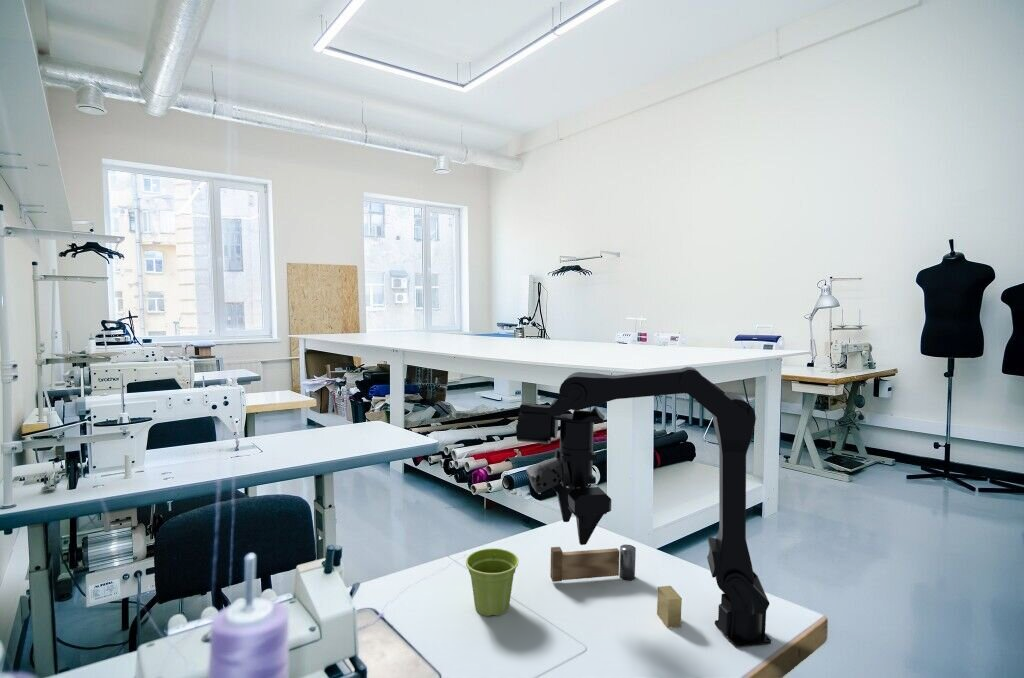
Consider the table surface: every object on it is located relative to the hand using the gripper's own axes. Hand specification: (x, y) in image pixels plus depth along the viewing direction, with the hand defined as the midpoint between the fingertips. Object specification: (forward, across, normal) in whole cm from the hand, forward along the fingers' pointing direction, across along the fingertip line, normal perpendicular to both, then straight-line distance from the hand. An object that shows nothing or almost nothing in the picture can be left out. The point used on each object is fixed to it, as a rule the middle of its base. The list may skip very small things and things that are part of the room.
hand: (574, 532), depth 93 cm
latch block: (+14, +6, +15) cm, 22 cm away
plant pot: (+14, -3, -14) cm, 20 cm away
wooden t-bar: (+13, -9, +5) cm, 17 cm away
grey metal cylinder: (+14, -8, +14) cm, 22 cm away
